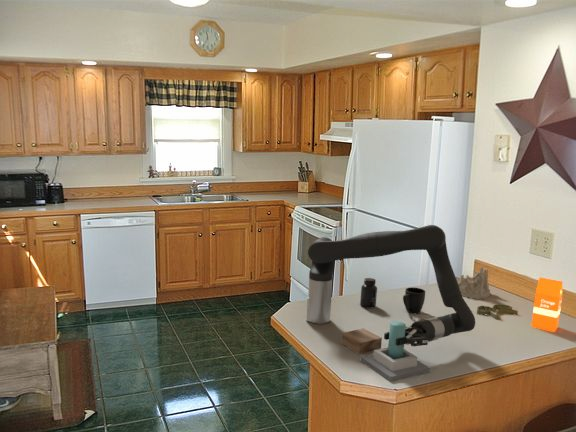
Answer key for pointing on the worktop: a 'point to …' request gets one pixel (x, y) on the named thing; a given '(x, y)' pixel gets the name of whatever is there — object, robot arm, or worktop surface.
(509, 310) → the cookie cutter
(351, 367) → the worktop surface
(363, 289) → the supplement bottle
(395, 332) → the peg
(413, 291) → the mug
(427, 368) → the socket base
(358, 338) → the stand
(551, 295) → the orange juice
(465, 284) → the sand castle
